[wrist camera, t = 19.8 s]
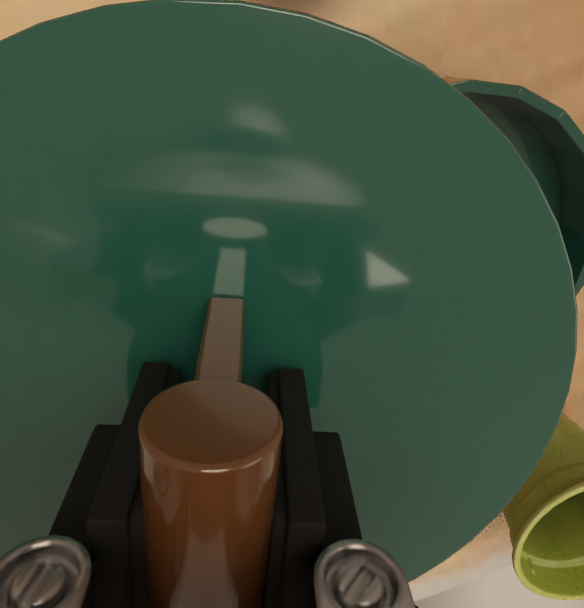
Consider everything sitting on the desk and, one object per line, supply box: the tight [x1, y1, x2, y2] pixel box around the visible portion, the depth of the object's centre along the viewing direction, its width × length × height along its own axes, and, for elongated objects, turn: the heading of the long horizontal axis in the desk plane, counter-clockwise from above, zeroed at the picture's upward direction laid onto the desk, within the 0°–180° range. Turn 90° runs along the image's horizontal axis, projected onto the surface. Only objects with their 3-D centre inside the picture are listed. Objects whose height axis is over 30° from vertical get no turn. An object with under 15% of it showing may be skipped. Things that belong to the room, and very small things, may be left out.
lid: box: [0, 0, 577, 608], centre depth 9 cm, size 16×16×6 cm
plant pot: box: [503, 413, 584, 600], centre depth 31 cm, size 9×9×9 cm
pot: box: [441, 77, 584, 296], centre depth 26 cm, size 15×15×4 cm
